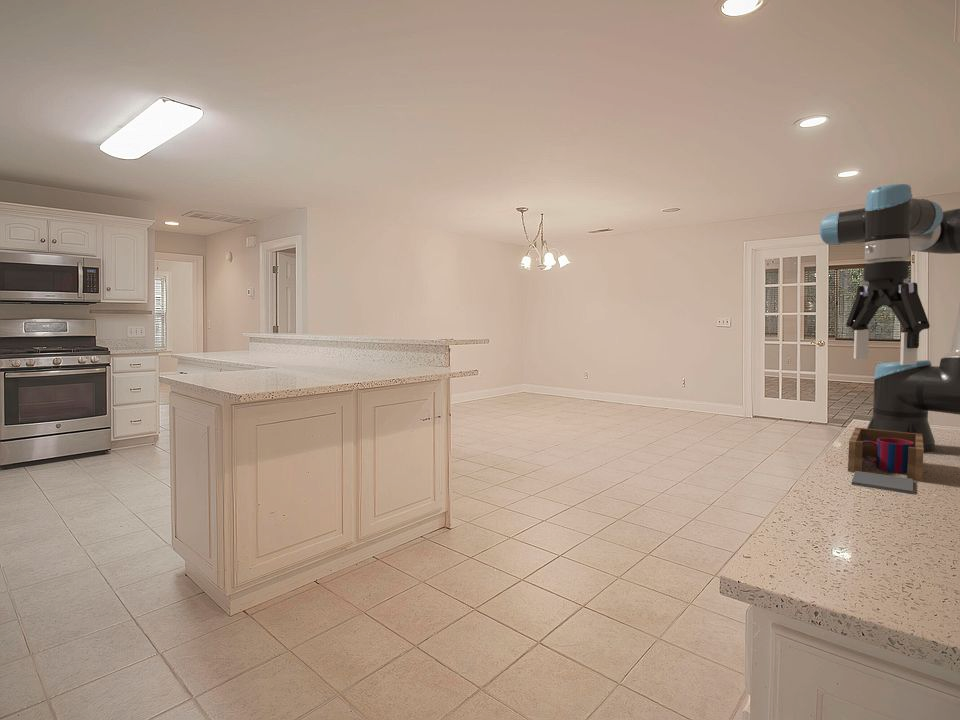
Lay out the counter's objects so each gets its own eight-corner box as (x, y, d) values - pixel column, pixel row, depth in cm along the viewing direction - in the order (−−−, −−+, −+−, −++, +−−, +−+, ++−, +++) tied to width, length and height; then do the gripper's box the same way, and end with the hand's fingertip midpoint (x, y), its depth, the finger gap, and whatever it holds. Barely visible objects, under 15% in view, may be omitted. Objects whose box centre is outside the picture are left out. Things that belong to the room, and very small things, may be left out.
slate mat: (855, 473, 118) (855, 470, 118) (912, 481, 112) (912, 478, 112) (851, 484, 110) (851, 481, 110) (912, 493, 104) (913, 491, 104)
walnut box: (854, 454, 134) (855, 427, 134) (920, 462, 126) (922, 433, 125) (847, 471, 120) (849, 441, 119) (922, 481, 112) (923, 449, 111)
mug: (913, 476, 116) (915, 445, 115) (857, 468, 122) (859, 439, 121) (912, 469, 121) (913, 440, 121) (858, 462, 127) (860, 434, 127)
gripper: (829, 267, 123) (828, 357, 125) (915, 255, 98) (912, 368, 100) (862, 265, 123) (859, 355, 125) (956, 254, 98) (951, 366, 100)
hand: (883, 361), depth 113 cm, fingers open, 13 cm apart
